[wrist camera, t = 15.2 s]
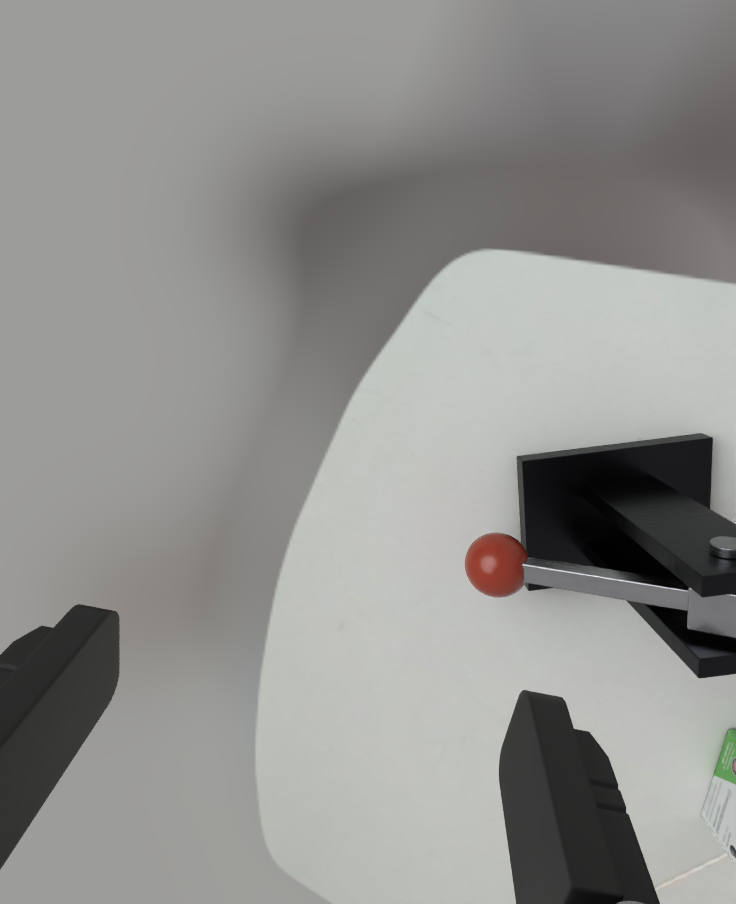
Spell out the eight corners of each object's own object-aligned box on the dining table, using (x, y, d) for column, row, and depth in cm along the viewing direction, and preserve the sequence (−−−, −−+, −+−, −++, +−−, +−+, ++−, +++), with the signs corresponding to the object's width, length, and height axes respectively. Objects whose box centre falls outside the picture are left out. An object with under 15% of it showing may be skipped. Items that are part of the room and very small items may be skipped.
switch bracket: (523, 582, 39) (614, 727, 26) (516, 456, 37) (612, 544, 24) (697, 560, 40) (876, 694, 26) (701, 433, 37) (900, 508, 24)
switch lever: (481, 573, 36) (457, 602, 33) (477, 519, 35) (451, 544, 32) (759, 622, 28) (758, 665, 25) (763, 554, 27) (763, 590, 24)
